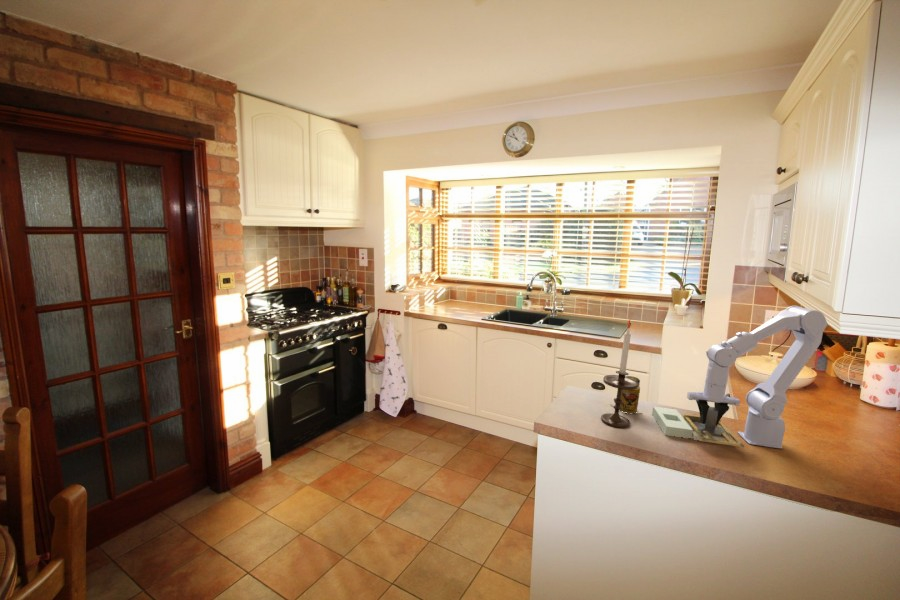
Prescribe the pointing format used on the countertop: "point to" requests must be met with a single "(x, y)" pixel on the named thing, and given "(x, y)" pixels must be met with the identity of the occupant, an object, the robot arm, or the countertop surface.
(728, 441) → the gold rectangular frame
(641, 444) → the countertop surface
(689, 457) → the countertop surface
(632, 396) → the condiment
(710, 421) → the peg
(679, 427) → the square cutout plate
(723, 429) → the socket block
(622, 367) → the candlestick
